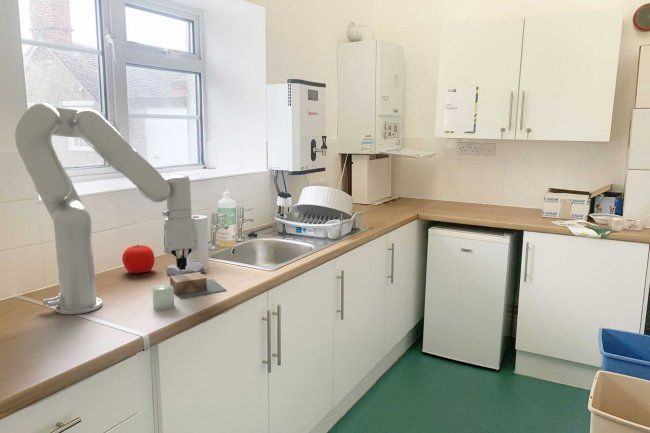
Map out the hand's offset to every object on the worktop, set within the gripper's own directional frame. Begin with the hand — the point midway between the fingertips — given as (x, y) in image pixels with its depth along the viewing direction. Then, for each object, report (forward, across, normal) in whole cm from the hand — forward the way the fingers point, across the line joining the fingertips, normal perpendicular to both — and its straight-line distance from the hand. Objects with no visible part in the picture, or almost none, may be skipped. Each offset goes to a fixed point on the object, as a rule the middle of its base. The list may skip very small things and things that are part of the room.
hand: (181, 268), depth 163 cm
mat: (+8, +5, 0) cm, 9 cm away
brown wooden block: (+5, -3, 0) cm, 6 cm away
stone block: (+8, +7, +20) cm, 23 cm away
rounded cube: (+8, -9, -12) cm, 17 cm away
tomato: (+8, -8, +30) cm, 32 cm away
